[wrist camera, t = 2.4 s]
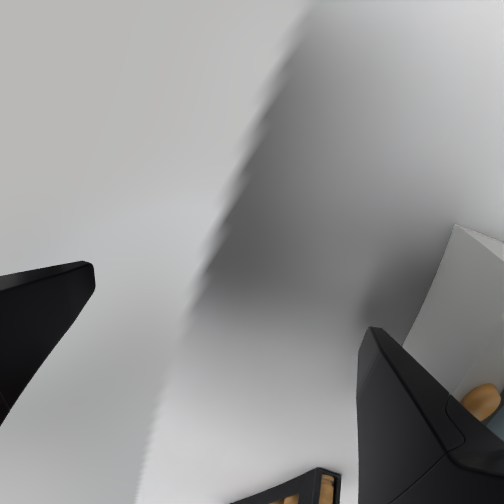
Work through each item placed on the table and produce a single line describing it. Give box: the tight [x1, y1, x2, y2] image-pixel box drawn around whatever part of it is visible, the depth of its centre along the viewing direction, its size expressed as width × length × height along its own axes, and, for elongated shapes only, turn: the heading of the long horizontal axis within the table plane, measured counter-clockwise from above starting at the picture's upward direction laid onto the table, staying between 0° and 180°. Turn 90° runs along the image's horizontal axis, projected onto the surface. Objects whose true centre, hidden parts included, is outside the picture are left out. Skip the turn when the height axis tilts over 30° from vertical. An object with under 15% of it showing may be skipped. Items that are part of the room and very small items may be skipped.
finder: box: [402, 224, 504, 441], centre depth 7 cm, size 5×7×4 cm
